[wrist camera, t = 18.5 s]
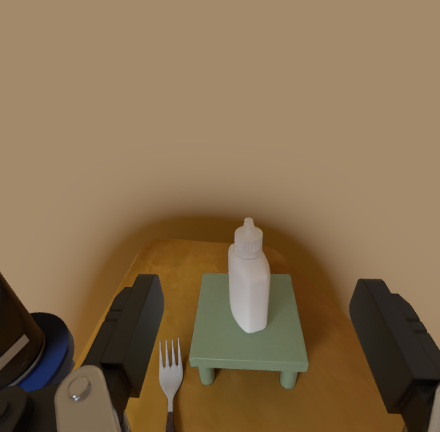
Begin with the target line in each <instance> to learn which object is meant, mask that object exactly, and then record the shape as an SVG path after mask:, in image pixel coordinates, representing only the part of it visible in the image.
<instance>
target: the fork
mask: <svg viewBox="0 0 440 432" xmlns="http://www.w3.org/2000/svg"><path fill="white" fill-rule="evenodd" d="M178 358H179V362H178V365H176V362H175V353H174V345H173V339H172V366H171V367H170V365H169V356H168V348H167V340H166V367H165V368H164V367H163V360H162V350H161V341H160V371H159V380H160V385H161V387H162V389H163V391H164V392H165V394H166V396H167V398H168V402H169V406H168V416H167V425H166V432H175V428H174V418H173V398H174V396H175V394H176V392H177V390H178V388H179V387H180V385H181V382H182V379H183V367H182V359H181V351H180V344H179V338H178Z"/></svg>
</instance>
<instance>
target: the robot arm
mask: <svg viewBox="0 0 440 432" xmlns="http://www.w3.org/2000/svg"><path fill="white" fill-rule="evenodd" d="M163 311H164V296H163V292H162V288H161V284H160V280H159V277H158V275H156V274H139V275H138V276H137V278H136V280H135V282H134V284H133V286H132V287H125V288H124V289H123V290H122V291H121V292H120V293H119V294H118V295H117V296H116V297H115V299H114V301H113V303H112V305H111V307H110V311H109V312H108V313H107V315H106V317H105V321H104V322H103V323H102V325H101V328H100V330H99V332H98V334H97V336H96V338H95V340H94V342H93V344H92V346H91V348H90V350H89V352H88V354H87V356H86V358H85V360H84V362H83V363H82V365H81V366H80V367H79V368H77V369H75V370H74V371H72V372H71V373H70V374H69V375H67V376H66V377H65V379H64V380H63V381H62V382H60V383H58V384H55V385H51V386H48V387H45V388H41V389H38V390H35V391H31V392H28V393H27V392H26V391H25V390H24V389H23V388H21V387H19V385H21V384H22V383H23V382H24V381H25V380H26V379H27V378H28V377H29V376H30V375H31V374H32V373H33V372H34V371H35V369H36V368H37V367H38V365H39V364H40V362H41V361H42V359H43V357H44V355H45V352H46V348H47V338H46V335H45V334H44V332H43V331H42V329H41V328H40V327H38V325H37V324H36V323H35V321H34V320H33V318H32V316H31V315H30V314H29V312H28V311H27V309H26V308H25V307H24V305H23V304H22V302H21V301H20V299H19V298H18V297H17V295H16V294H15V293H14V291H13V290H12V288H11V287H10V285H9V284H8V283H7V281H6V280H5V278H4V277H3V275H2V274H1V273H0V432H131V429H130V426H129V422H128V419H127V416H126V412H125V409H126V406H127V402H128V399H129V397H133V398H139V396H140V392H141V389H142V385H143V382H144V378H145V375H146V371H147V368H148V364H149V361H150V357H151V354H152V350H153V347H154V343H155V340H156V336H157V333H158V329H159V326H160V322H161V319H162V315H163ZM349 312H350V317H351V320H352V323H353V326H354V328H355V331H356V333H357V336H358V338H359V341H360V343H361V346H362V349H363V351H364V354H365V356H366V359H367V361H368V364H369V366H370V369H371V371H372V374H373V377H374V379H375V382H376V384H377V387H378V389H379V392H380V394H381V397H382V400H383V402H384V405H385V407H386V410H387V412H388V413H391V414H401V415H402V418H403V420H404V422H405V425H404V427H403V430H402V432H440V350H439V348H438V347H437V346H436V344H435V342H434V341H433V339H432V337H431V336H430V334H429V333H427V330H426V328H425V327H424V325H423V323H422V322H420V319H419V317H418V315H417V314H416V312H415V311H414V309H413V308H412V306H411V305H410V304H409V303H408V302H407V301H405V300H404V299H403V298H402V297H401V296H400V295H399V294H391V293H390V291H389V289H388V287H387V286H386V284H385V282H384V281H383V280H381V279H359V280H358V282H357V285H356V287H355V290H354V293H353V296H352V298H351V301H350V305H349Z"/></svg>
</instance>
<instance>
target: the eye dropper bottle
mask: <svg viewBox="0 0 440 432" xmlns="http://www.w3.org/2000/svg"><path fill="white" fill-rule="evenodd" d="M262 237H263V233H262V231H261V230H260V229H259V228H257V227H255V226H254V223H253V219H252V218H249V217H248V218H245V220H244V225H243V226H242V227H239V228H238V229H237V230H236V231H235V243H234V244H232V245H231V246H230V248H229V252H228V269H229V295H230V307H231V311H232V314H233V316H234V318H235V320H236V322H237V323H238V324H239V326H240V327H241V328H242V329H243V330H244V331H245V332H247V333H253V332H256V331H260V330H263V329H264V328H266V326H267V316H268V304H269V291H270V268H269V264H268V261H267V258H266V256H265V255H264V253H263V251H262Z"/></svg>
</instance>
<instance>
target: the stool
mask: <svg viewBox="0 0 440 432" xmlns="http://www.w3.org/2000/svg"><path fill="white" fill-rule="evenodd" d="M189 361H190V365H191V367H198V369H199V375H200V380H201V382H202V383H203V384H205V385H210V384H211V383H212V382H213V381H214V379H215V374H214V368H228V369H249V370H270V371H281V375H280V383H281V385H282V386H283V387H284V388H286V389H292V388H293V387H294V386H295V383H296V378H297V374H298V372H307V368H308V364H309V362H308V357H307V352H306V347H305V343H304V338H303V333H302V328H301V323H300V319H299V314H298V309H297V304H296V299H295V295H294V290H293V285H292V280H291V276H290V274H270V291H269V304H268V316H267V326H266V328H264V329H263V330H260V331H256V332H253V333H247V332H245V331H244V330H243V329H242V328H241V327H240V326H239V324H238V323H237V322H236V320H235V318H234V316H233V314H232V311H231V307H230V295H229V273H203V277H202V283H201V289H200V295H199V301H198V307H197V313H196V319H195V325H194V331H193V337H192V343H191V348H190V354H189Z"/></svg>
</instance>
